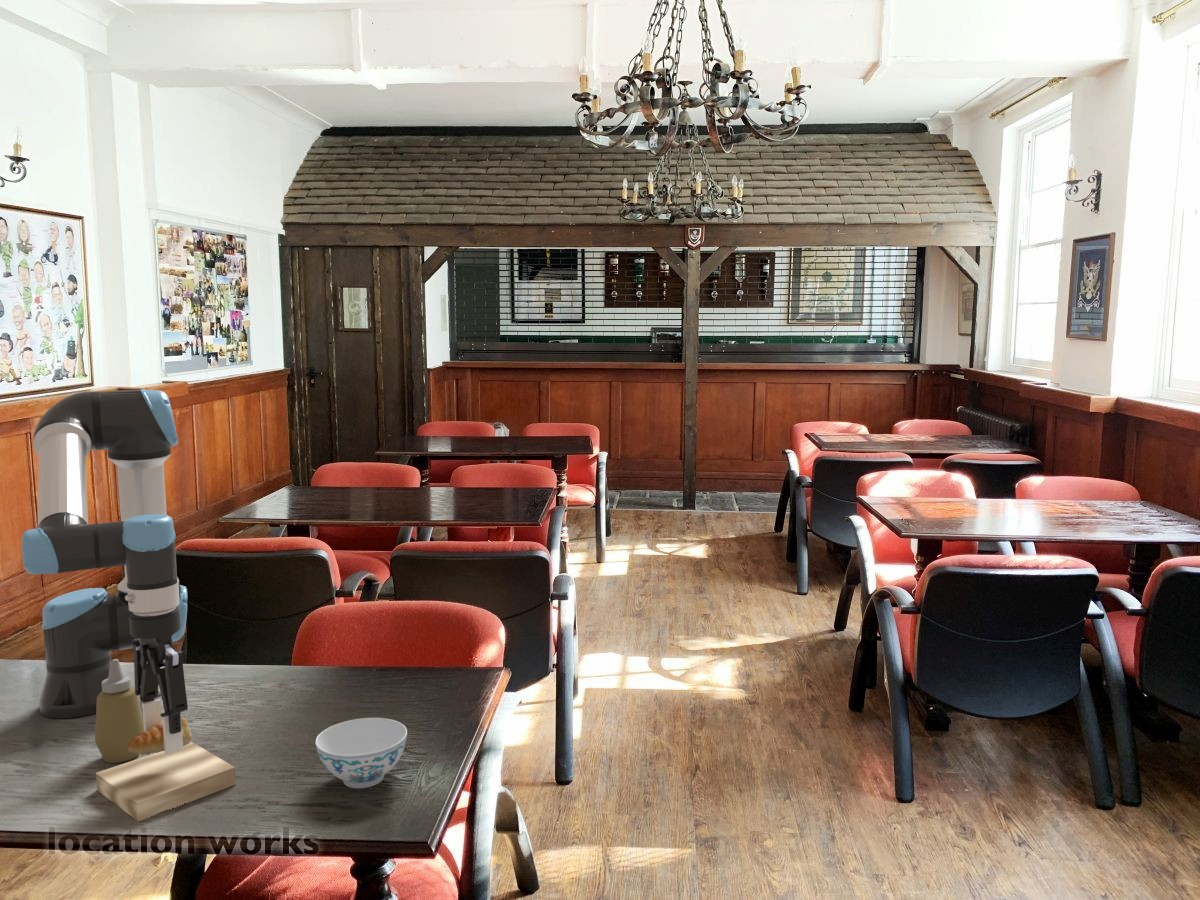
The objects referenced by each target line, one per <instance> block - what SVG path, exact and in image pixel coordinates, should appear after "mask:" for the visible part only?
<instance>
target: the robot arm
mask: <svg viewBox="0 0 1200 900" xmlns="http://www.w3.org/2000/svg"><path fill="white" fill-rule="evenodd" d="M172 410H173V409H172V406H171V402H170V399H169V395H168V394H167V393H166V392H165V391H163V390H158V389H142V388H141V389H125V390H124V389H123V390H122V389H121V390H103V391H101V390H98V391H81V392H77V393H73V394H70V395H68V396H65V397H63V398H62V399H61V400H59V401H57V402H55V404H53V405H52V406H50V408H49V409H47V410H46V411H45V412H44V413H43V416H41V418H40V419H39V420H38V422H37V424H36V426H35V428H34V433H33V442H32V444H33V445H32V446H33V450H34V452H35V454H36V455H37V456H38V459H39V460H38V463H39V464H38V494H37V495H38V497H37V499H38V500H37V527H35V528H33V529H26V530H25V531H24V532H23V533H22V536H21V554H22V564H23V568H24V570H25V572H26V573H27V574H29V575H48V574H49V575H50V574H51V575H55V574H61V573H70V572H77V571H84V570H92V569H102V568H103V569H104V568H113V567H115V568H116V567H120V566H121V567H122V566H123V567H124V578H123V579H122V580H121V581H120V582H119V583H118V584H117V593H113V594H108V591H106V589H105V588H103V587H95V588H93V587H89V588H83V589H79V590H78V589H77V590H74V591H70V592H67V593H63V594H61V595H59V596H56V597H54V598H52V599H50V600H49V601H48V602H46V603H45V604H44V606H43V608H42V624H41V629H42V630H43V639H44V652H45V663H46V666H45V667H46V677H45V680H44V683H43V686H42V691H41V694H40V697H39V703H38V704H39V713H40V715H42V716H43V717H45V718H46V717H47V718H51V719H73V718H80V717H81V718H82V717H85V716H90V715H94V714H95V715H96V706H97V696H98V695H99V694H100V693H101V692H103V691H102V681H103V680H105V679H107V678H108V676H109V670H110V664H111V660H112V652H115V651H122V650H128V649H129V650H130V649H132V650H133V651H132V652H133V664H134V665H133V669H134V671H133V672H134V673H133V674H134V688H135V694H136V696H138V697H139V701H140V702H141V704H142V705H141V706H142V717H143V723H144V731H147V730H148V729H150V728H151V727H153V726H154V725H156V724H158V723H163V735H164V749H165V753H166V754H169V753H172V752H175V751H178V750H181V749H183V736H182V722H181V718H182V712H185V711H188V709H189V708H188V707H189V706H188V700H187V699H188V698H187V692H186V691H187V690H186V688H187V687H186V682H185V681H186V679H185V672H184V652H183V650H179V651H176V650H175V646H174V643H173V642H177V641H179V640H181V638H183V637H184V634H185V631H186V624H187V615H188V588H187V586H184V585H182V584H180V580H179V577H178V576H177V553H176V532H175V527H174V520H173V518H172V516H170V515H168V514H167V513H168V512H167V497H166V496H167V495H166V484H165V483H166V482H165V481H166V480H165V467H164V466H165V465H164V464H165V462H166V460H167V459H169V458H170V457H171V455H172V449H171V447H175V446H177V445H178V444H179V440H178V433H177V429H176V423H175V419H174V414H173V411H172ZM94 450H95V451H102V450H107V459H108V461H109V460H110V461H111V462H112V464H114V465H116V471H117V484H118V498H119V509H120V510H119V511H120V512H119V513H120V521H111V522H104V523H103V522H100V523H89V513H88V512H89V511H88V506H89V505H88V504H89V503H88V486H87V485H88V478H87V456H88V455H89V453H90V452H91V451H94ZM160 698H161V699H160ZM162 705H163V710H164V712H162Z"/></svg>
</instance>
